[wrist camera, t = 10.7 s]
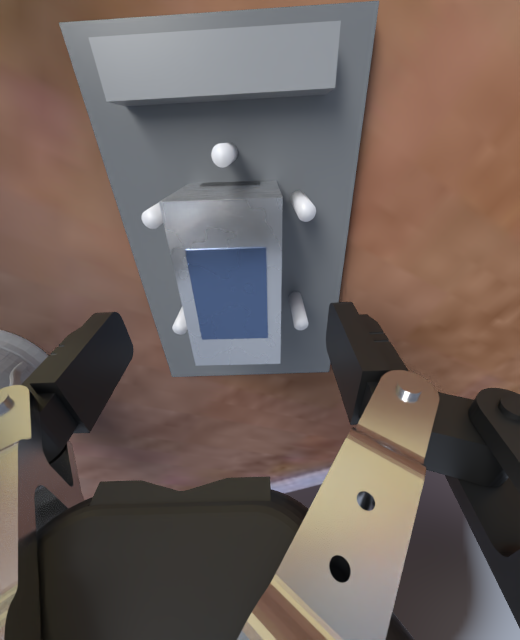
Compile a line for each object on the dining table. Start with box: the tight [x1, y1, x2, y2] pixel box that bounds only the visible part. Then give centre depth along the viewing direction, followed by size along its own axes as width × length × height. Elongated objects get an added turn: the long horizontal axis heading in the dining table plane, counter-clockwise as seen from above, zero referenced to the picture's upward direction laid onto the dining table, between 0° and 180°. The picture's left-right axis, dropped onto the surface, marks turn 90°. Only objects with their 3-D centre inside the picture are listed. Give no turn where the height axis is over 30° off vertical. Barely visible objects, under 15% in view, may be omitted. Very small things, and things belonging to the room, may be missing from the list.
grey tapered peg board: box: [59, 1, 379, 377], centre depth 17 cm, size 22×14×5 cm, turn 3°
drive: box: [159, 180, 283, 366], centre depth 16 cm, size 9×5×6 cm, turn 2°
